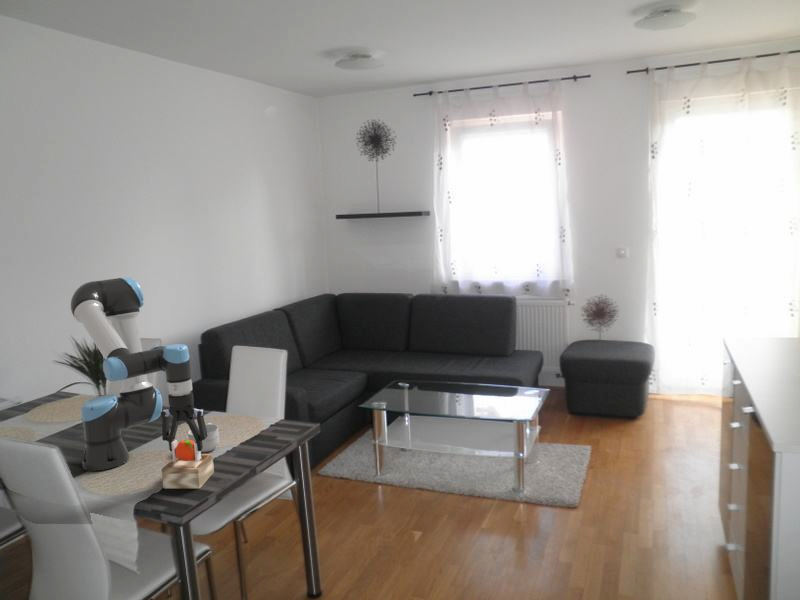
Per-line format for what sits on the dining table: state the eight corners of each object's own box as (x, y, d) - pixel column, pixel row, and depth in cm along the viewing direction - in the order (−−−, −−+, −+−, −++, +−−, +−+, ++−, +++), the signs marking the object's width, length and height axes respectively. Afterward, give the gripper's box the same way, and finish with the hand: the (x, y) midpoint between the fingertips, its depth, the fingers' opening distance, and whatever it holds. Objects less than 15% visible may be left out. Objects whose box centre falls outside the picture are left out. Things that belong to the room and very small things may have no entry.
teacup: (211, 455, 226) (209, 434, 225) (184, 454, 228) (181, 433, 227) (229, 441, 240) (227, 420, 238) (203, 440, 242) (201, 420, 240)
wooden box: (163, 488, 202) (161, 469, 201) (180, 472, 213) (178, 454, 212) (199, 488, 200) (197, 469, 199) (214, 472, 212) (212, 453, 211)
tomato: (204, 460, 205) (202, 439, 204) (184, 467, 201) (181, 446, 199) (192, 454, 211) (190, 434, 210) (172, 460, 206) (170, 440, 205)
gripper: (145, 396, 199) (152, 464, 203) (205, 395, 197) (212, 464, 201) (156, 389, 207) (163, 455, 210) (214, 388, 205) (220, 455, 209)
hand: (187, 459), depth 206 cm, fingers closed on tomato, 7 cm apart
